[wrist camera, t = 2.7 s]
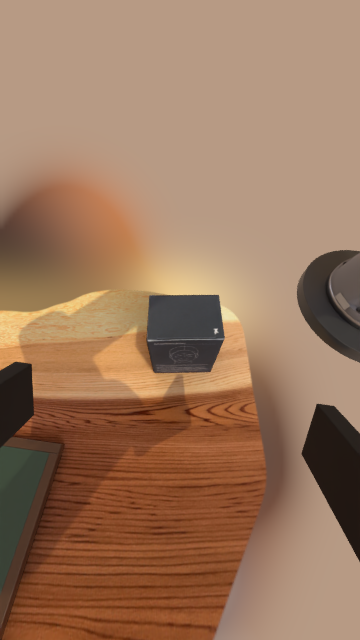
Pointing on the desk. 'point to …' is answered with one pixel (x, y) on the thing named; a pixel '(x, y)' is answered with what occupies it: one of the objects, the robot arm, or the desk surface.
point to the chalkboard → (21, 508)
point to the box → (184, 332)
